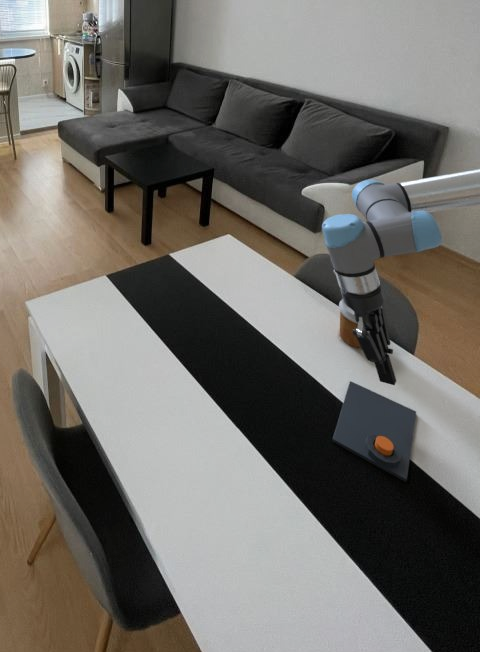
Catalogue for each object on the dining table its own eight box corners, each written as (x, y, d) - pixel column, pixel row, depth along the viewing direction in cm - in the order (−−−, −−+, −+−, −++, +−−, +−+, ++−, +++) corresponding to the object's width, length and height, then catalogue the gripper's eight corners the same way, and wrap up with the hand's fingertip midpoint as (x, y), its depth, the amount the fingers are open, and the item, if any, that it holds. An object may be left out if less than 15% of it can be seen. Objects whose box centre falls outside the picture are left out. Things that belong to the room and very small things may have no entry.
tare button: (375, 438, 90) (377, 432, 90) (393, 447, 88) (394, 441, 88) (373, 449, 88) (374, 444, 88) (390, 459, 86) (392, 453, 86)
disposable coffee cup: (327, 341, 118) (333, 306, 114) (340, 322, 124) (347, 289, 119) (366, 361, 111) (375, 325, 107) (378, 340, 117) (386, 306, 113)
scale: (348, 386, 105) (351, 376, 104) (414, 417, 97) (417, 406, 96) (331, 444, 93) (333, 433, 91) (404, 485, 85) (408, 474, 83)
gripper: (350, 268, 97) (377, 357, 100) (329, 300, 89) (359, 396, 92) (388, 271, 91) (416, 366, 94) (370, 306, 83) (400, 408, 86)
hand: (388, 381), depth 93 cm, fingers closed
